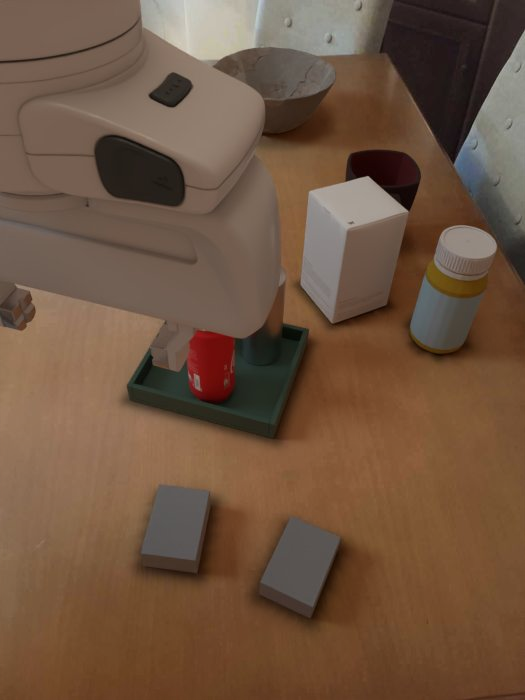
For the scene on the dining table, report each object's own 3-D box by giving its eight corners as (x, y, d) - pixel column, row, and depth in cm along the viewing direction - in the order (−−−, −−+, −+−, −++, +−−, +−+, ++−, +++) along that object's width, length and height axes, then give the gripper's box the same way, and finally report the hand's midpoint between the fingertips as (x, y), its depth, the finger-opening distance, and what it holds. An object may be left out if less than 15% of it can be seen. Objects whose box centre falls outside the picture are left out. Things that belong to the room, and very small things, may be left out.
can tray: (129, 400, 68) (126, 385, 66) (180, 313, 78) (178, 298, 76) (273, 439, 65) (274, 425, 63) (307, 343, 75) (309, 328, 73)
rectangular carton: (389, 306, 80) (412, 211, 69) (331, 326, 77) (347, 230, 66) (352, 267, 86) (369, 173, 75) (298, 284, 83) (307, 189, 72)
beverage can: (195, 369, 71) (189, 293, 62) (238, 375, 70) (238, 300, 62) (185, 403, 67) (176, 328, 59) (230, 410, 67) (228, 335, 58)
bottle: (451, 364, 73) (489, 269, 62) (399, 341, 76) (426, 246, 65) (471, 331, 77) (509, 236, 66) (421, 310, 80) (449, 215, 69)
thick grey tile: (143, 566, 55) (140, 553, 53) (161, 498, 60) (159, 484, 58) (197, 573, 55) (195, 560, 53) (211, 504, 60) (209, 490, 58)
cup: (394, 219, 94) (410, 148, 85) (416, 276, 85) (436, 203, 76) (332, 220, 94) (342, 149, 85) (347, 278, 84) (360, 205, 75)
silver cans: (180, 346, 73) (172, 270, 65) (195, 319, 77) (189, 243, 68) (274, 369, 71) (279, 294, 62) (285, 341, 74) (291, 265, 66)
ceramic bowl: (350, 115, 118) (357, 63, 111) (293, 166, 104) (297, 110, 97) (254, 88, 125) (255, 37, 118) (189, 132, 112) (186, 77, 104)
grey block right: (258, 594, 54) (259, 582, 52) (289, 528, 58) (291, 515, 56) (310, 619, 52) (313, 607, 50) (337, 550, 57) (341, 537, 55)
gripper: (-254, 83, 23) (-106, 335, 33) (258, 184, 20) (248, 430, 30) (-134, 27, 27) (-36, 266, 37) (304, 103, 24) (281, 343, 34)
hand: (93, 340), depth 33 cm, fingers open, 8 cm apart
